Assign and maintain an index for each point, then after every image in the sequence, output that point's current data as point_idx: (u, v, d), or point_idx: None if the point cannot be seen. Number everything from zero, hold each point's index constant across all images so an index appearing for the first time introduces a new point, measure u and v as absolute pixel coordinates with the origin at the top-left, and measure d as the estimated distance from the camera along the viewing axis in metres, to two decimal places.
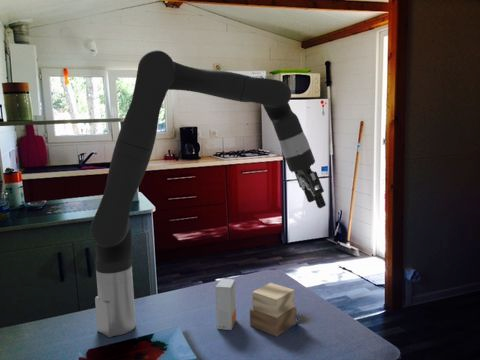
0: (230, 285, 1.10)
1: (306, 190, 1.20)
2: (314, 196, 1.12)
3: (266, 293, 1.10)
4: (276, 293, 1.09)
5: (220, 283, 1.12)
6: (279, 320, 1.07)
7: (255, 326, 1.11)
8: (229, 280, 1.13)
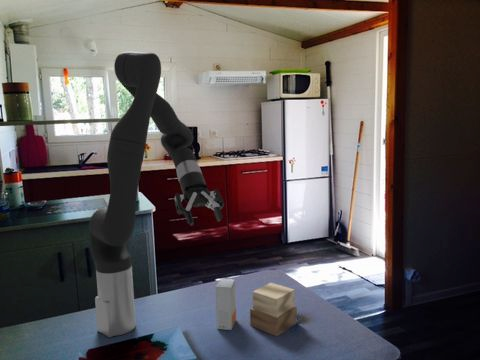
0: (230, 285, 1.10)
1: None
2: (217, 207, 1.23)
3: (267, 292, 1.10)
4: (277, 293, 1.09)
5: (220, 283, 1.12)
6: (280, 320, 1.07)
7: (255, 326, 1.11)
8: (229, 280, 1.13)
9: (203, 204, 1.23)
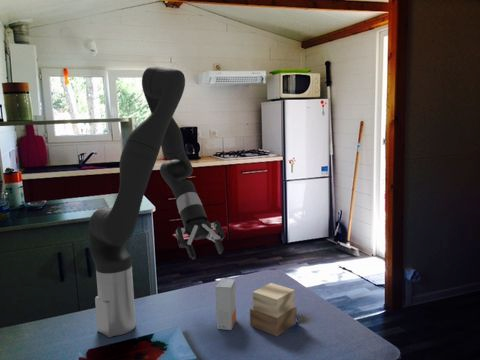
0: (230, 285, 1.10)
1: None
2: (218, 240, 1.24)
3: (267, 293, 1.10)
4: (277, 293, 1.09)
5: (220, 283, 1.12)
6: (279, 320, 1.07)
7: (255, 326, 1.11)
8: (229, 280, 1.13)
9: (204, 237, 1.25)
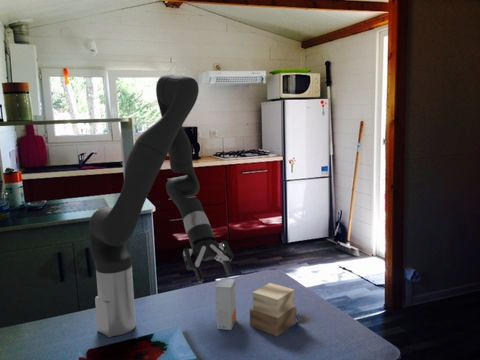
0: (230, 285, 1.10)
1: None
2: (227, 261, 1.20)
3: (267, 293, 1.10)
4: (277, 293, 1.09)
5: (220, 283, 1.12)
6: (279, 320, 1.07)
7: (255, 326, 1.11)
8: (229, 280, 1.13)
9: (212, 258, 1.21)
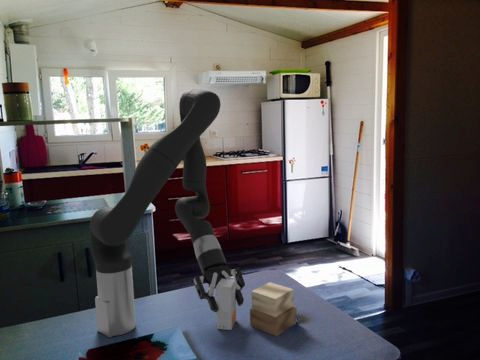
0: (230, 285, 1.10)
1: None
2: (238, 290, 1.14)
3: (265, 292, 1.10)
4: (275, 293, 1.10)
5: (220, 282, 1.12)
6: (279, 320, 1.07)
7: (255, 326, 1.11)
8: (229, 280, 1.13)
9: None
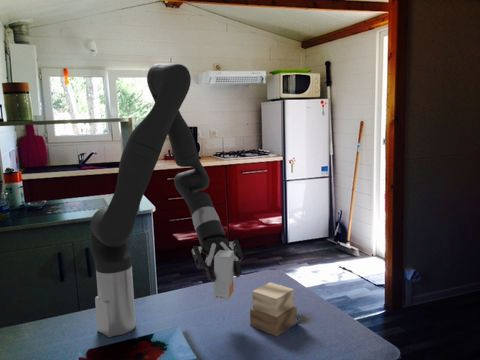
0: (229, 255, 1.09)
1: None
2: (236, 261, 1.13)
3: (266, 292, 1.10)
4: (276, 293, 1.10)
5: (219, 253, 1.11)
6: (279, 320, 1.07)
7: (255, 326, 1.11)
8: (228, 251, 1.12)
9: None
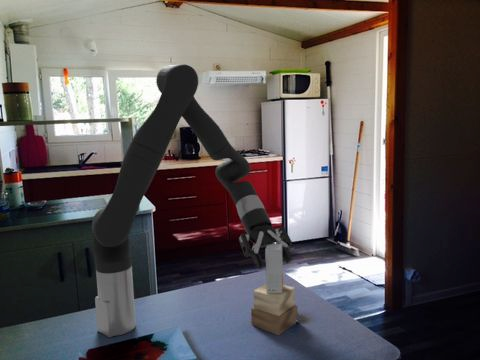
0: (279, 248, 1.09)
1: None
2: (285, 248, 1.13)
3: None
4: None
5: (268, 246, 1.10)
6: (281, 319, 1.08)
7: (256, 325, 1.12)
8: (277, 244, 1.12)
9: None
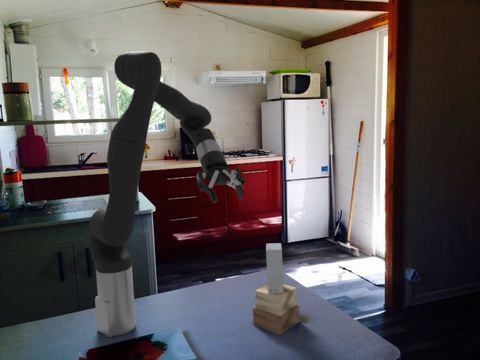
0: (280, 248, 1.09)
1: None
2: (239, 185, 1.24)
3: None
4: None
5: (268, 246, 1.10)
6: (282, 319, 1.08)
7: (258, 324, 1.12)
8: (276, 244, 1.12)
9: (225, 182, 1.24)
